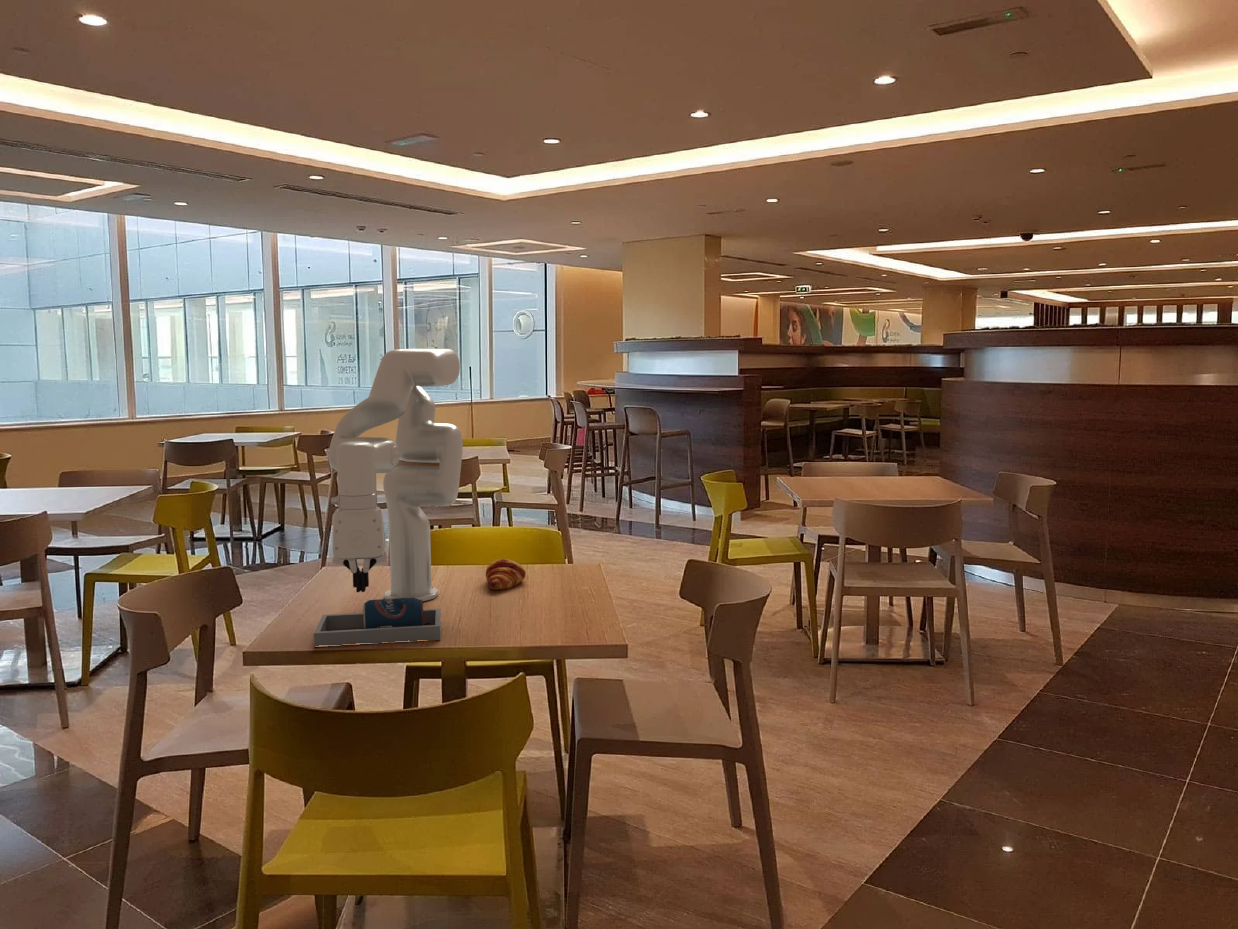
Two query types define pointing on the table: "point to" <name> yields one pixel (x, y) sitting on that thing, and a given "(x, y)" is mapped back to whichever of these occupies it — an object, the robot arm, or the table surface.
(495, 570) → the croissant
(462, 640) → the table surface
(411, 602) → the soda can
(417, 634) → the plastic frame
